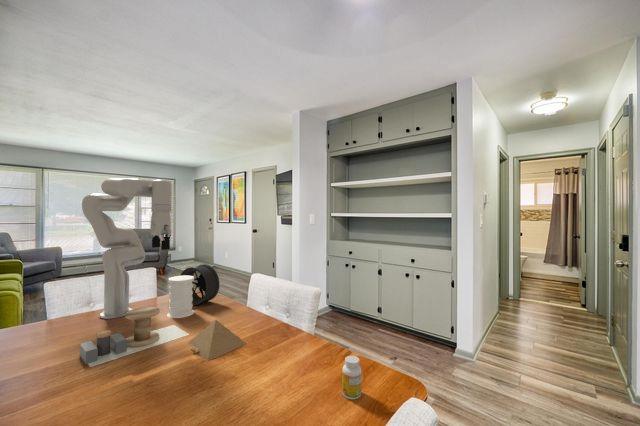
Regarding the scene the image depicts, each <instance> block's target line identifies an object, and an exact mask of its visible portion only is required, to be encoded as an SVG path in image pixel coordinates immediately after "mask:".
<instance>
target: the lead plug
mask: <svg viewBox="0 0 640 426" xmlns="http://www.w3.org/2000/svg"><path fill="white" fill-rule="evenodd" d="M110 335H112V331H111V330H109V329H107V330H105V329H104V330H101V331H99V332H97V333H96V347H97V348H98V356H104V355H107V354H109V353H110Z"/></svg>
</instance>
